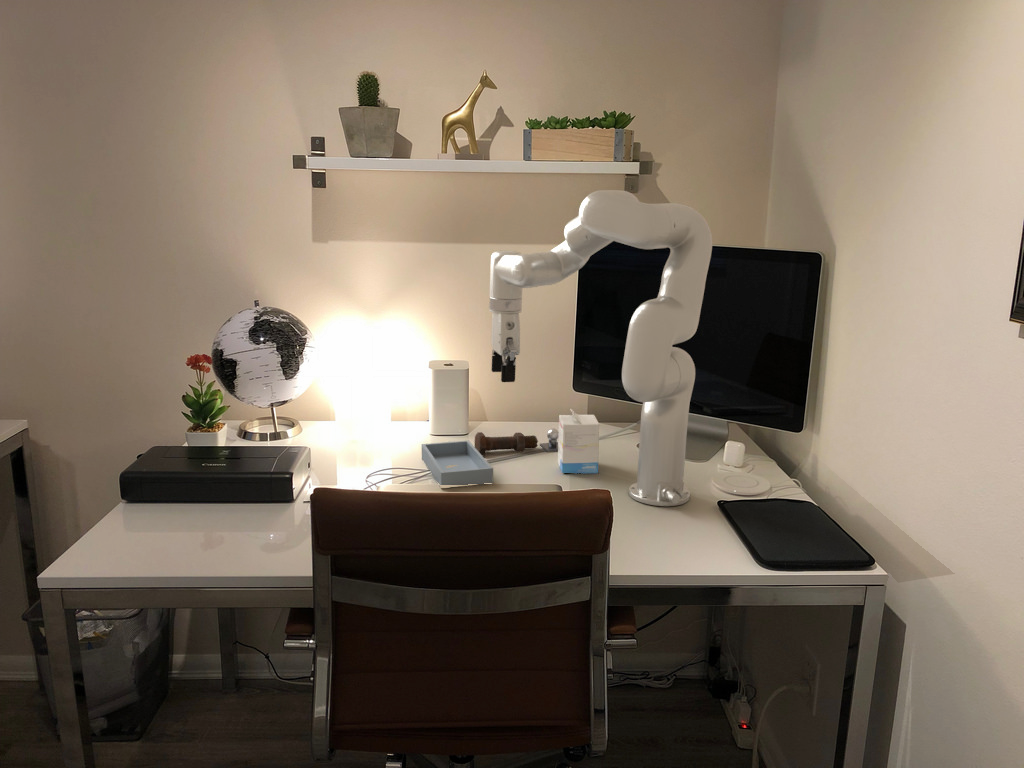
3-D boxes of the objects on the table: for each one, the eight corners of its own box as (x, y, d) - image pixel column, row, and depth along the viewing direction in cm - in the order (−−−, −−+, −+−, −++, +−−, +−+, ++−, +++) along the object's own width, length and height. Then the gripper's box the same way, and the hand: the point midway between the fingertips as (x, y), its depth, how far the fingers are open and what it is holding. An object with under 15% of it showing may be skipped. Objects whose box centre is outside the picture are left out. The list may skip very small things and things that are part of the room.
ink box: (598, 474, 187) (601, 417, 184) (561, 474, 186) (563, 417, 183) (592, 461, 195) (594, 406, 192) (557, 461, 194) (558, 406, 191)
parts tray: (492, 484, 179) (492, 468, 178) (441, 488, 176) (441, 472, 175) (468, 454, 198) (468, 440, 197) (421, 458, 195) (421, 444, 194)
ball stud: (565, 450, 203) (566, 430, 202) (546, 452, 201) (547, 432, 200) (558, 444, 207) (559, 425, 206) (539, 445, 206) (540, 426, 205)
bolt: (536, 457, 203) (477, 460, 199) (531, 442, 207) (473, 444, 202) (541, 441, 199) (481, 443, 195) (536, 426, 203) (476, 428, 199)
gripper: (531, 311, 185) (528, 385, 189) (511, 299, 201) (509, 367, 205) (498, 311, 183) (495, 386, 187) (481, 299, 199) (479, 368, 203)
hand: (502, 376), depth 196 cm, fingers open, 9 cm apart
